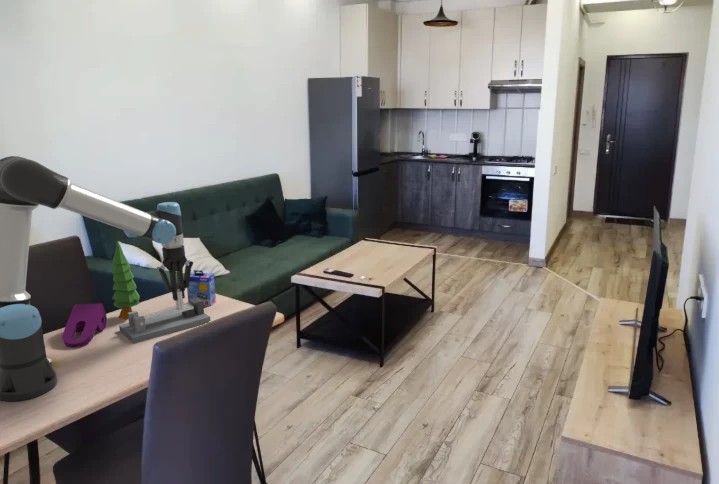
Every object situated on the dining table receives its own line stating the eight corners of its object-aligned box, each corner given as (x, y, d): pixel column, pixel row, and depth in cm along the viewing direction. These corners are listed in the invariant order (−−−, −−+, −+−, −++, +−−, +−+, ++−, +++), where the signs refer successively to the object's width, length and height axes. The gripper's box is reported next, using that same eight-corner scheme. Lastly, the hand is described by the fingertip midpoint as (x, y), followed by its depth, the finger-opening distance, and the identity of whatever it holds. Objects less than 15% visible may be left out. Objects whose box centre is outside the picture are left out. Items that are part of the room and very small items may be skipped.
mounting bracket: (94, 359, 185) (108, 319, 198) (87, 343, 179) (102, 303, 193) (65, 360, 184) (81, 320, 197) (57, 344, 178) (74, 304, 192)
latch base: (133, 343, 183) (131, 324, 181) (119, 330, 193) (117, 312, 191) (210, 321, 200) (209, 304, 198) (194, 311, 210) (193, 294, 209)
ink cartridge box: (187, 305, 217) (184, 270, 213) (193, 300, 222) (190, 266, 218) (211, 306, 215) (208, 271, 212) (216, 301, 221) (214, 267, 217)
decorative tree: (123, 311, 210) (114, 236, 203) (147, 311, 210) (138, 236, 202) (111, 321, 201) (101, 243, 193) (135, 321, 200) (127, 243, 193)
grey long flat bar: (136, 325, 187) (135, 320, 187) (132, 321, 190) (131, 317, 190) (193, 309, 200) (193, 305, 200) (189, 306, 203) (188, 302, 203)
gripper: (158, 251, 186) (166, 315, 192) (195, 244, 194) (201, 305, 200) (150, 247, 191) (158, 309, 197) (186, 240, 199) (192, 300, 206)
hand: (179, 307), depth 199 cm, fingers closed
